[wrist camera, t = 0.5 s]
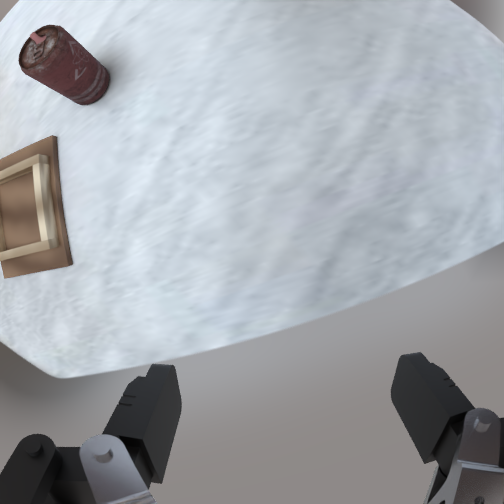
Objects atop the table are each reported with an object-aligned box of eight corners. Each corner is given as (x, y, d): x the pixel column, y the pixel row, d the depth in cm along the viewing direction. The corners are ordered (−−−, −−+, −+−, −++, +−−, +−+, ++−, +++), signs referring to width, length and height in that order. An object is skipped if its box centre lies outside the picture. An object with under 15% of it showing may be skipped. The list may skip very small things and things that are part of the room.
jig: (-6, 165, 33) (-21, 164, 30) (56, 136, 33) (42, 132, 30) (8, 276, 36) (-6, 282, 32) (72, 264, 36) (58, 269, 32)
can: (94, 59, 32) (45, 14, 18) (119, 79, 33) (70, 32, 19) (65, 91, 32) (8, 57, 19) (88, 114, 33) (28, 81, 19)
